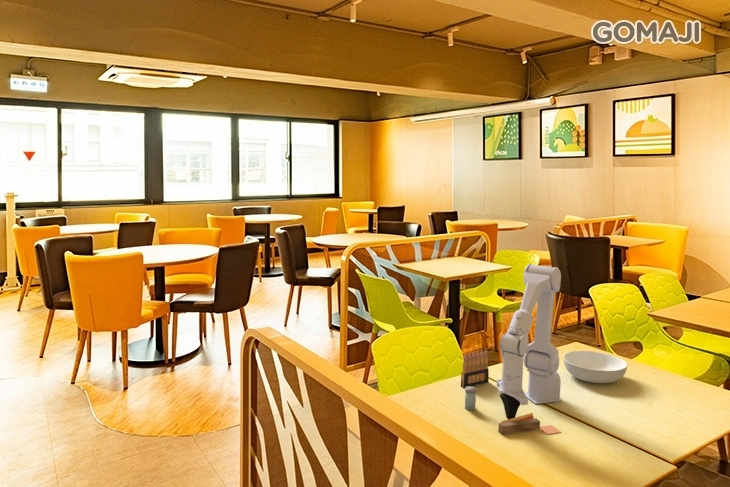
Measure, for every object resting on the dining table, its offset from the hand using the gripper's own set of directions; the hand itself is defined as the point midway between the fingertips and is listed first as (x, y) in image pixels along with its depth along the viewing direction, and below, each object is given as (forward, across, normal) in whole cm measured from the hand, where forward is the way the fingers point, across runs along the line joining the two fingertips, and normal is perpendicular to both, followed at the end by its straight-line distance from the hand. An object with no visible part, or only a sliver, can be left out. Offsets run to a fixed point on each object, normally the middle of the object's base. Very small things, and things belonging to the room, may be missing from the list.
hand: (510, 418), depth 167 cm
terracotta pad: (+1, +8, +8) cm, 11 cm away
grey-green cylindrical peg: (+1, -11, -8) cm, 14 cm away
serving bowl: (+1, -22, +46) cm, 51 cm away
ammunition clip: (+1, -28, +2) cm, 28 cm away
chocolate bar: (+2, +1, +2) cm, 3 cm away
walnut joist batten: (+1, +6, 0) cm, 6 cm away
